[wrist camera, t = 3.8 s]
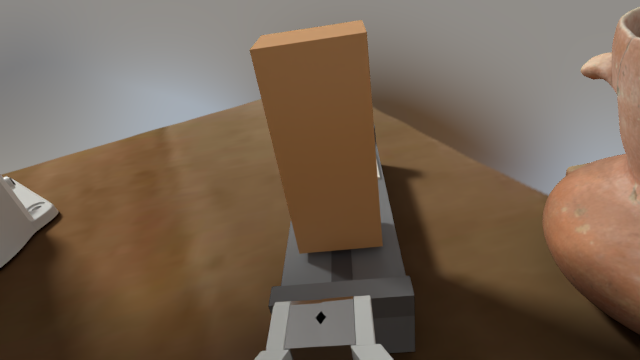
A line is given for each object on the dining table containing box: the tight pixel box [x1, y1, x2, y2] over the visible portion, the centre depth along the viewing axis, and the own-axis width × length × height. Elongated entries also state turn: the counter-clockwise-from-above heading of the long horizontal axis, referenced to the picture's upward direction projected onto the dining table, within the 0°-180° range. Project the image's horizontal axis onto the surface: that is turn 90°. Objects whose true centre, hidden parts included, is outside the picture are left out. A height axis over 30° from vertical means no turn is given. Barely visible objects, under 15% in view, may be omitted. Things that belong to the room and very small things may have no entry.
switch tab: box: [250, 20, 383, 254], centre depth 20 cm, size 3×5×12 cm, turn 88°
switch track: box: [269, 122, 415, 353], centre depth 27 cm, size 20×7×4 cm, turn 178°
